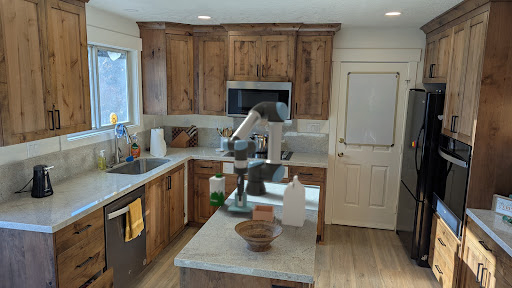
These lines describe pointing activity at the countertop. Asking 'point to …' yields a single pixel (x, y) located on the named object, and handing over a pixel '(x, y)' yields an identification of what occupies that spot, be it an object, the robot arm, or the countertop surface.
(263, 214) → the pot
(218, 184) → the milk carton
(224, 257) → the countertop surface
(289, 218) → the milk
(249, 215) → the mat
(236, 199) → the lid
